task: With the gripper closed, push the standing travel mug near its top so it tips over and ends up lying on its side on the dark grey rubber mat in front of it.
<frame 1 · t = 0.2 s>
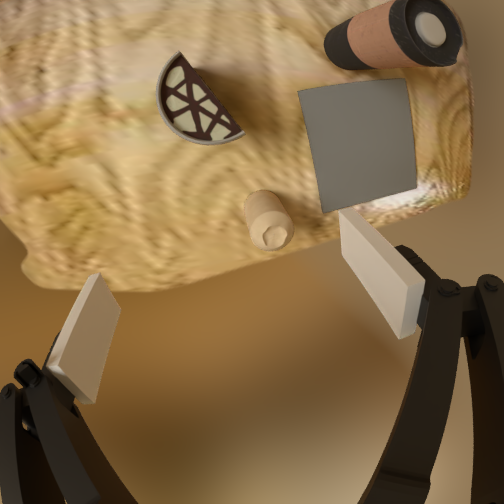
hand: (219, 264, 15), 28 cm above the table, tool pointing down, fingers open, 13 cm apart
travel mug: (345, 48, 33), on the table
mat: (365, 142, 40), on the table
food container: (194, 106, 35), on the table
candle: (261, 206, 44), on the table
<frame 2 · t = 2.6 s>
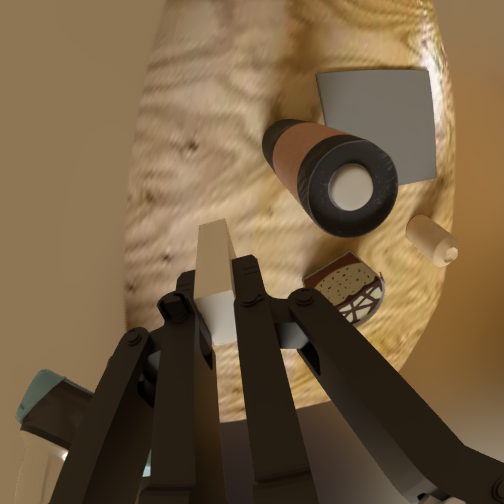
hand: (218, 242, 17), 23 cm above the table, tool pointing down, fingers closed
travel mug: (288, 144, 37), on the table
mat: (385, 129, 37), on the table
food container: (333, 276, 48), on the table
candle: (416, 227, 46), on the table
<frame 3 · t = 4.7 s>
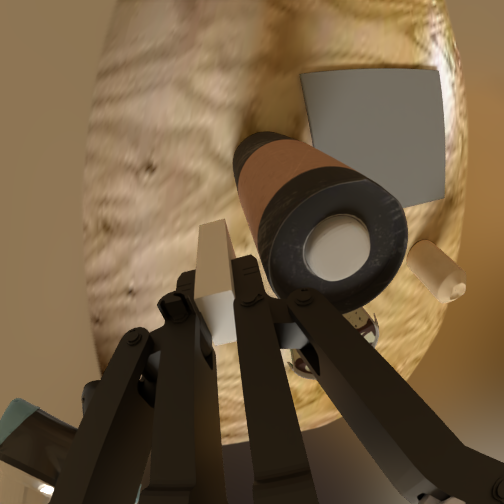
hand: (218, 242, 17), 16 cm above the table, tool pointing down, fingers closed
travel mug: (265, 163, 31), on the table, touching gripper
mat: (386, 141, 30), on the table
food container: (321, 310, 42), on the table
candle: (419, 254, 40), on the table
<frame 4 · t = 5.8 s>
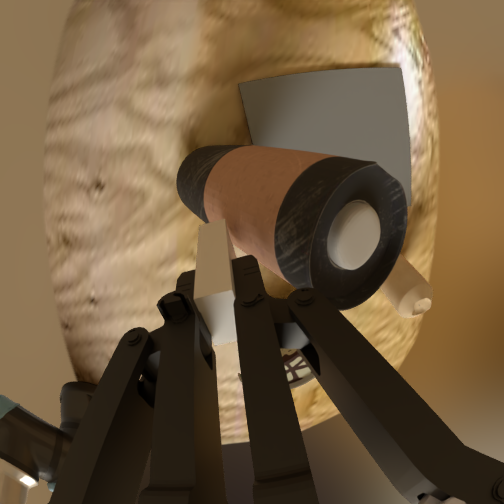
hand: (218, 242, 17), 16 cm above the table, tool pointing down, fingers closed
travel mug: (208, 180, 29), point 1 cm above the table
mat: (339, 148, 30), on the table
food container: (279, 322, 42), on the table
candle: (385, 264, 40), on the table
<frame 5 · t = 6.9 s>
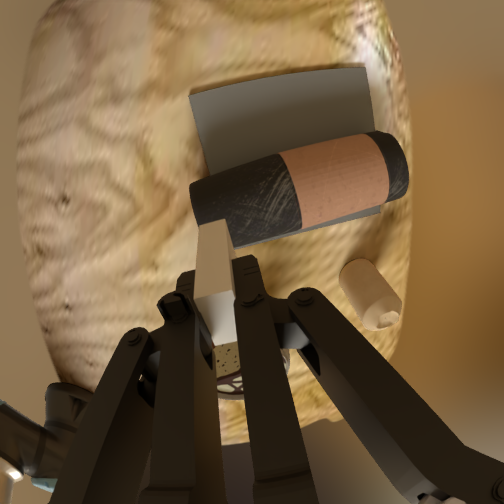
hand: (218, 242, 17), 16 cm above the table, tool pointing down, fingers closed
travel mug: (200, 219, 28), point 4 cm above the table, touching mat
mat: (297, 155, 30), on the table
food container: (246, 330, 42), on the table
candle: (355, 273, 40), on the table
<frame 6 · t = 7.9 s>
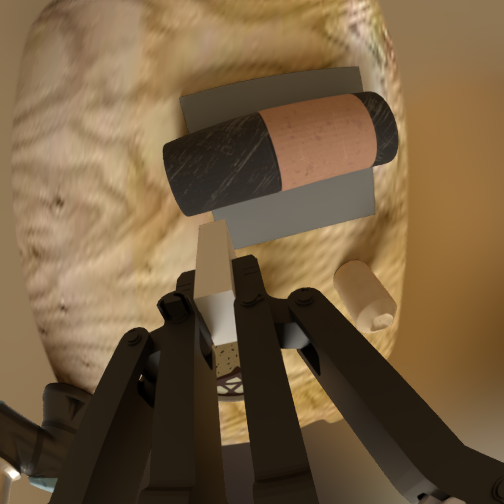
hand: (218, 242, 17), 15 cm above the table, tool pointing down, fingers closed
travel mug: (174, 180, 26), point 4 cm above the table, touching mat
mat: (289, 156, 30), on the table
food container: (240, 331, 42), on the table
candle: (350, 275, 39), on the table
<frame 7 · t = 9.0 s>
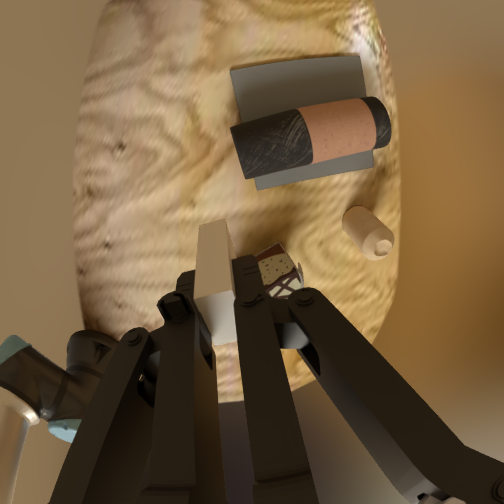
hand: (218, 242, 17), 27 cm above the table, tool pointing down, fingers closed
travel mug: (236, 153, 36), point 5 cm above the table, touching mat
mat: (308, 119, 38), on the table
food container: (264, 267, 51), on the table
candle: (355, 219, 48), on the table
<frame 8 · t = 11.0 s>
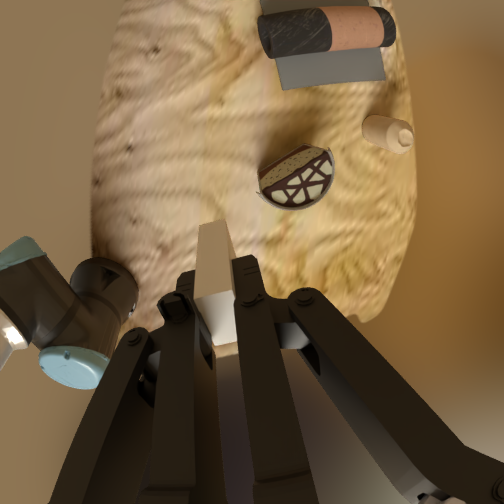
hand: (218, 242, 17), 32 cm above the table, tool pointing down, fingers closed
travel mug: (263, 37, 33), point 5 cm above the table, touching mat
mat: (326, 34, 37), on the table
food container: (289, 172, 49), on the table
candle: (374, 129, 46), on the table
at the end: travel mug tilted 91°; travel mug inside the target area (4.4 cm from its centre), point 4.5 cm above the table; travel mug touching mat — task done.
